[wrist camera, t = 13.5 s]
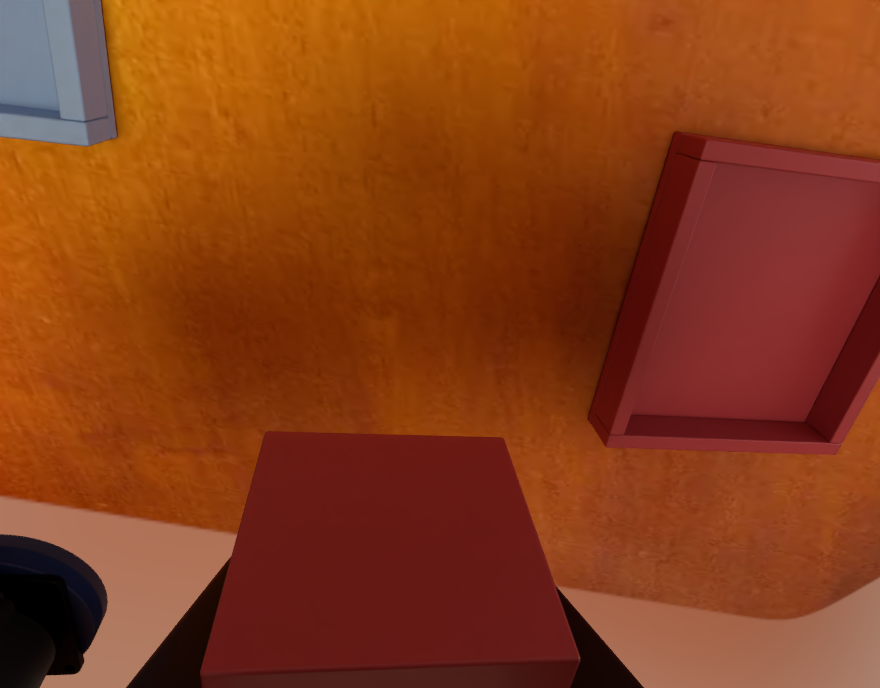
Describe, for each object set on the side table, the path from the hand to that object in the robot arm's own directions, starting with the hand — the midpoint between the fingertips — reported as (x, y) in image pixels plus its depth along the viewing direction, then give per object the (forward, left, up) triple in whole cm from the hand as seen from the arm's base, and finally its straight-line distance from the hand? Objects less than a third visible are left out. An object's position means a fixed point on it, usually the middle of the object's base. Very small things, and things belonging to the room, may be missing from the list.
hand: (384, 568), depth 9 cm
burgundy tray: (+1, -14, -11) cm, 18 cm away
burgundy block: (0, 0, -1) cm, 1 cm away
